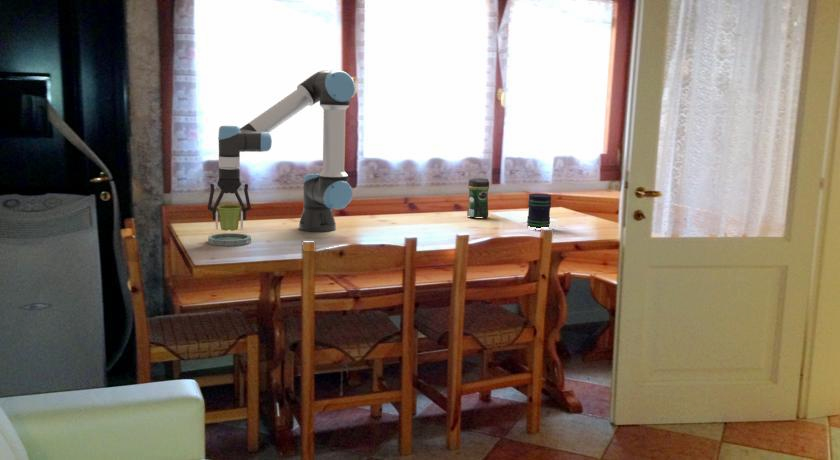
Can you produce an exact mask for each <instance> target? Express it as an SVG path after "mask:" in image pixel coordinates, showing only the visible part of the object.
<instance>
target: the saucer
mask: <svg viewBox="0 0 840 460" xmlns="http://www.w3.org/2000/svg"><path fill="white" fill-rule="evenodd" d="M251 237H252V236H251V235H250V234H249V235H248V234H246V233H236V232H224V233H214V234H211V235H208V237H207V238H208V239H207V242H208V243H207V244H209V245H212V246H217V247H238V246H239V247H241V246H245V245H249V244H251V242H252V238H251Z"/></svg>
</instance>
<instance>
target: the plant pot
mask: <svg viewBox="0 0 840 460" xmlns="http://www.w3.org/2000/svg"><path fill="white" fill-rule="evenodd" d="M216 211H218V219H219V223H220V229H221V230H222V231H225V232H227V231H232V232H233V231H237V230H238V228H239V224H240V223H239V222H240V218H241V211H242V207H241V206H240V204H239V205H238V204H221V205H218V207H217V209H216Z"/></svg>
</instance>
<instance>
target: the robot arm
mask: <svg viewBox="0 0 840 460" xmlns="http://www.w3.org/2000/svg"><path fill="white" fill-rule="evenodd" d="M355 90H356V85H355V81H354V79H353V78H352V77H351V75H350V74H349V73H347V72H345V71H343V70H339V69H337V70H336V69H335V70H334V69H332V70H330V69H329V70H320V71H317V72H315V73H314V74H312V75H311V76H309V77H308V78H306V79H305V80H303V81H302V82H301V83H299V84H298V85H297V87H296V89H295V90H294V91H292V92H291V93H289V94H288V95H287V96H285V97H284V98H282V99H281V100H279V101H278V102H277V103H274V105H273V106H271V107H269V108H268V109H267V110H265V111H264V112H263V113H261V114H259V115H258V116H256V117H254V118H253V119H252V120H251V121H249V122H248V123H246V124H245V125H243V126H241V128H240V127H239V126H237V125H221V126H219V128H218V139H217V140H218V168H219V169H218V180H217V182H210V184H209V185H210V186H209V187H210V193H209V198H208V203H207V208H206V209H207V210H208V211H211V212H212V221H215V230H218V229H219V212H218V210H217V207H218V206H220V205H219V204H220V203H221V201H222V199H223V196H224V195H225V194H234V195H235V197H236V199H237V201H238V203H239V206H241V207H242V208H241V212H240V230H244V221H246V220H247V211H250V210H251V209H252V207H251V201H250V196H249V191H248V189H249V184H248V183H247V182H246V183H243V182H241V181H240V176H241V175H240V173H241V172H240V171H241V170H240V165H241V164H240V163H241V161H240V160H241V158H240V156H241V154H240V153H245V152H247V153H249V152H252V153H253V152H255V153H257V152H258V153H263V152H269V151H270V150H271V148H272V143H273V142H272V140H273V139H272V136H271V134H270V132H272V131H274V130H275V129H276V128H278V127H279V126H280V125H282V124H283V123H285V122H286V121H288V120H289V119H290V118H292V117H293V116H296V114H298V113H299V112H301V111H302V110H304V109H305V108H306V107H308V106H311V107H312V106H314V105H315V104H317V103H318V102H319V106H320V107H321V108H322V110H323V121H322V122H323V128H322V129H323V131H322V132H323V134H322V135H323V137H322V139H323V140H322V144H323V145H322V170H321V171H320V173H307V174H305V175H304V177H303V183H302V184H303V211H302V214H301V216H300V220H299V223H298V227H299V228H298V229H299V230H301V231H306V232H331V231H335V230H336V228H337V224H336V219H335V217H334V216H335V215H334V214H333V210H342V209H344V208H346V207H347V206H348V205H349V204H350V203H351V202H352V199H353V193H354V192H353V188H352V186H351V185H350V183H349V175H348V173H347V172H346V171H345V162H346V161H345V155H346V153H345V151H346V150H345V149H346V114H347V113H346V111H347V109H348V108H349V107H350V103H351V101H350V100H351V99H352V97H353V96H354V94H355ZM217 187H219V189H220V192H219V194H218V196H217V198H216V200H215V203H214V204H213V198H214V195H215V190H216V189H217ZM240 187H241V189H242V190H243V191H244V197H245V202H246V206H245V204H244V201H243V200H242V198H241V195H240V193H239V191H238V190H239V188H240ZM212 205H213V206H212Z"/></svg>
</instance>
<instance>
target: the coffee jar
mask: <svg viewBox="0 0 840 460" xmlns="http://www.w3.org/2000/svg"><path fill="white" fill-rule="evenodd" d="M467 188H468V190H469V193H468V195H469V196H468V206H467V212H466V213H467V214H466V215H467V217H468V216H470V217H487V218H488V217H489V203H488V202H489V197H488V196H489V194H488V193H489V189H490V181H489V179H487V178H484V177H483V178H481V177H480V178H479V177H478V178H477V177H476V178H470V179H469V180H468V186H467Z"/></svg>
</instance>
